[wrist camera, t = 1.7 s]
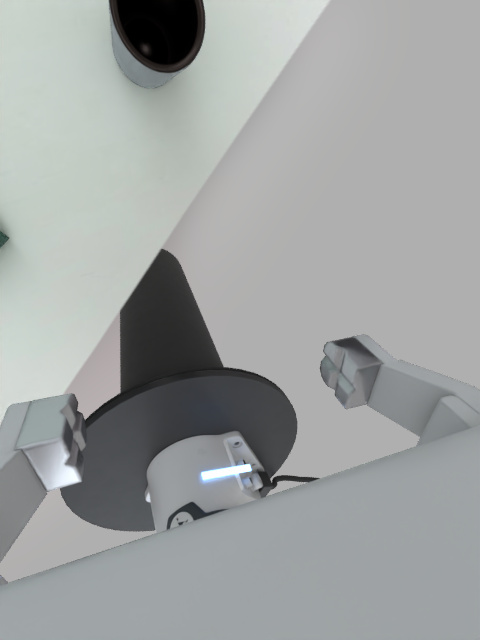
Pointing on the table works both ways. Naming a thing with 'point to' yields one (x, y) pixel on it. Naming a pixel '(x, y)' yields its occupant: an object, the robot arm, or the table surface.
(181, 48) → the planter
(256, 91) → the table surface
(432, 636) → the robot arm
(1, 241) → the tray
